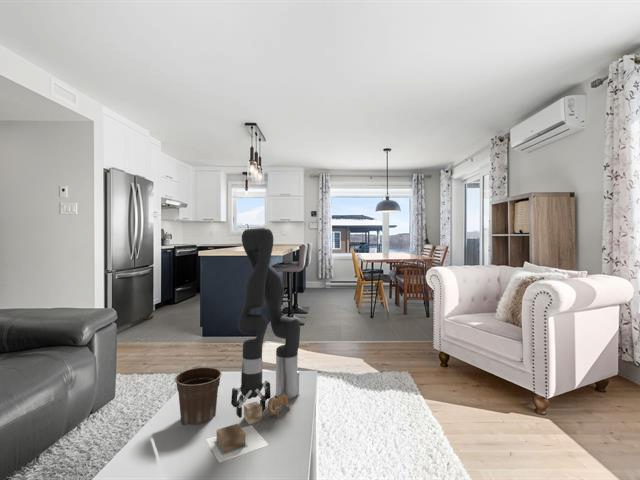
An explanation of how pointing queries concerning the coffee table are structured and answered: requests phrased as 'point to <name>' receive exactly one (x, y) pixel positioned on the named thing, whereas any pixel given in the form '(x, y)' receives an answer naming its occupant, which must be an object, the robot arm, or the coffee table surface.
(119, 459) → the coffee table surface
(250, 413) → the oak block
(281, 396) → the lion figurine
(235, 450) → the board
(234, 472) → the coffee table surface
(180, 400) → the plant pot
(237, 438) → the walnut plinth
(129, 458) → the coffee table surface
